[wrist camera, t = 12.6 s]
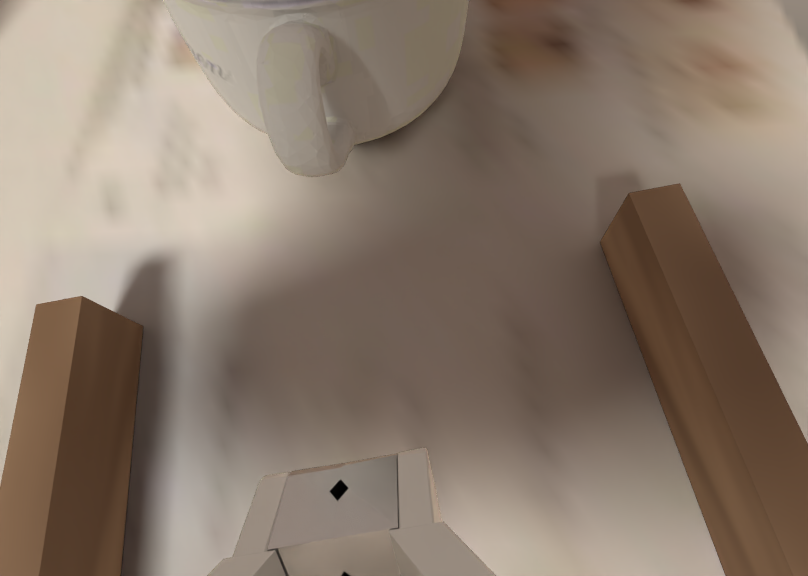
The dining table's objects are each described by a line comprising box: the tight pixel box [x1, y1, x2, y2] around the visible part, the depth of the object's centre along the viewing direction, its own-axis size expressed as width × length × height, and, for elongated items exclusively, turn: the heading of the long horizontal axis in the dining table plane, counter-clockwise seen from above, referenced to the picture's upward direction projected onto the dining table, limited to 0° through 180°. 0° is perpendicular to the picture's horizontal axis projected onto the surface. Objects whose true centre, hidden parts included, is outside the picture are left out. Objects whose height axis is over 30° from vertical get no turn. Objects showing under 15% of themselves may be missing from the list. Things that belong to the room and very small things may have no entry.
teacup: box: [162, 0, 469, 177], centre depth 16 cm, size 14×11×8 cm
